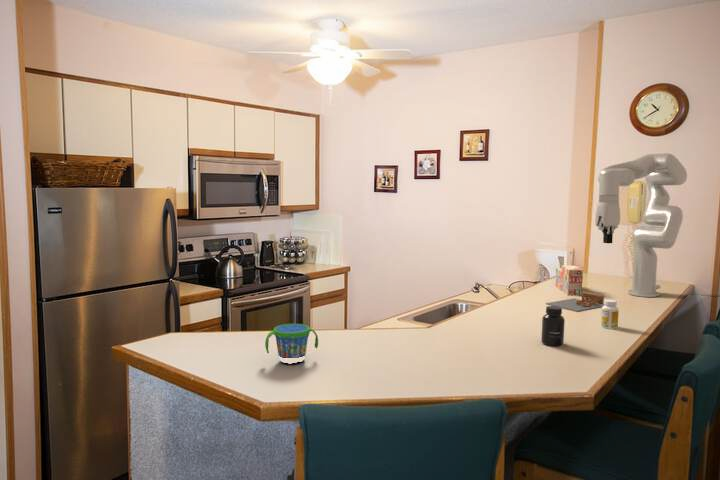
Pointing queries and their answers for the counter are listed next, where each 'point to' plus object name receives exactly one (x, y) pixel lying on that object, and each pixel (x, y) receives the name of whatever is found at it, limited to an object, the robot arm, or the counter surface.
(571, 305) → the mat
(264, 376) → the counter surface
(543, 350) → the counter surface
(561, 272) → the stack of blocks
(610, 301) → the supplement bottle
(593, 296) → the gingerbread man figurine
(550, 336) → the supplement bottle
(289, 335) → the snack cup
